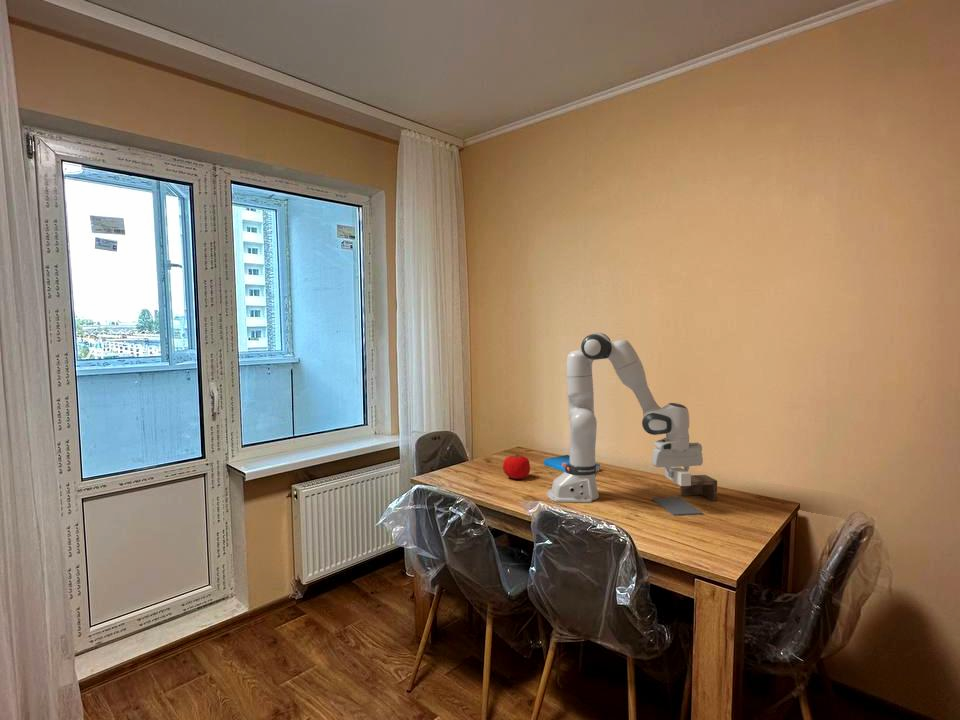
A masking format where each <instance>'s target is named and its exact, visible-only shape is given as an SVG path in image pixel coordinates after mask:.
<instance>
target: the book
mask: <svg viewBox="0 0 960 720" xmlns="http://www.w3.org/2000/svg"><path fill="white" fill-rule="evenodd" d="M569 462H570V454H564V455H559V456H554V457H549V458H544V461H543V464H544V466H545V465H547V466H546V467H548V466H550V467H549V468H551V467H553V468H552V469H554V468H555V470H557V469H558V471H560V470H561V472H563V471H564V472H565V468H563V466H562V464H563V463H566V464H568V463H569ZM595 464H596V469H597V471H598V472H600V471H601V464H600V463H597V462H595ZM599 470H600V471H599ZM564 472H563V473H564Z"/></svg>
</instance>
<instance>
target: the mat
mask: <svg viewBox="0 0 960 720" xmlns="http://www.w3.org/2000/svg"><path fill="white" fill-rule="evenodd" d="M651 500H652V501H653V500H654V502H655V503H656V504H657V505H659V506H660V507H661V506H662V509H664V510H665V509H666V511H667V512H668V513H669V512H670V514H671V515H672V516H673V515H674V516H675V515H678V516H695V515H697V514H700V515H704V512H702V511H701V510H699V509H698V508H696V507H695V506H694V505H692V504H690V503H689V502H687V501H686V500H684V499H682V498H681V497H679V496H674V497H673V496H672V497H671V496H669V497H655V498H654V497H652V498H651Z"/></svg>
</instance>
